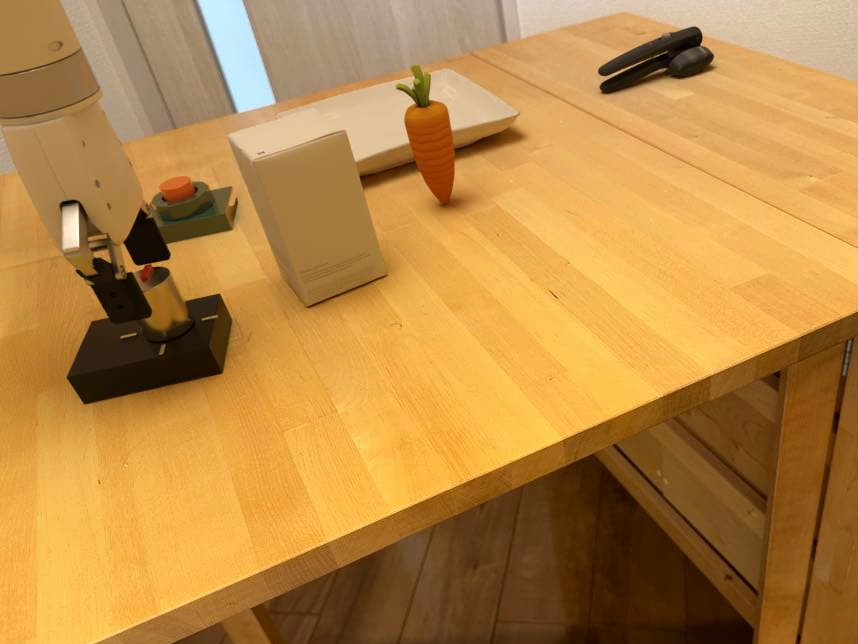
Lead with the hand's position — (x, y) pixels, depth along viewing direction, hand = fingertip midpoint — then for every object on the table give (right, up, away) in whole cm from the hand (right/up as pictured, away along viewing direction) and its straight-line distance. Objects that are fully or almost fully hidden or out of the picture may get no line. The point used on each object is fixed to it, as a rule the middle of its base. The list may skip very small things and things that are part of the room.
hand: (144, 288), depth 66 cm
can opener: (+51, +37, +45) cm, 78 cm away
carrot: (+23, +13, +22) cm, 35 cm away
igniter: (-8, +12, +26) cm, 30 cm away
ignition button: (-8, +15, +24) cm, 29 cm away
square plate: (+15, +27, +40) cm, 50 cm away
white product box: (+13, +3, +12) cm, 18 cm away
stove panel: (-1, -6, +4) cm, 7 cm away
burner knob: (+1, -3, +2) cm, 4 cm away
